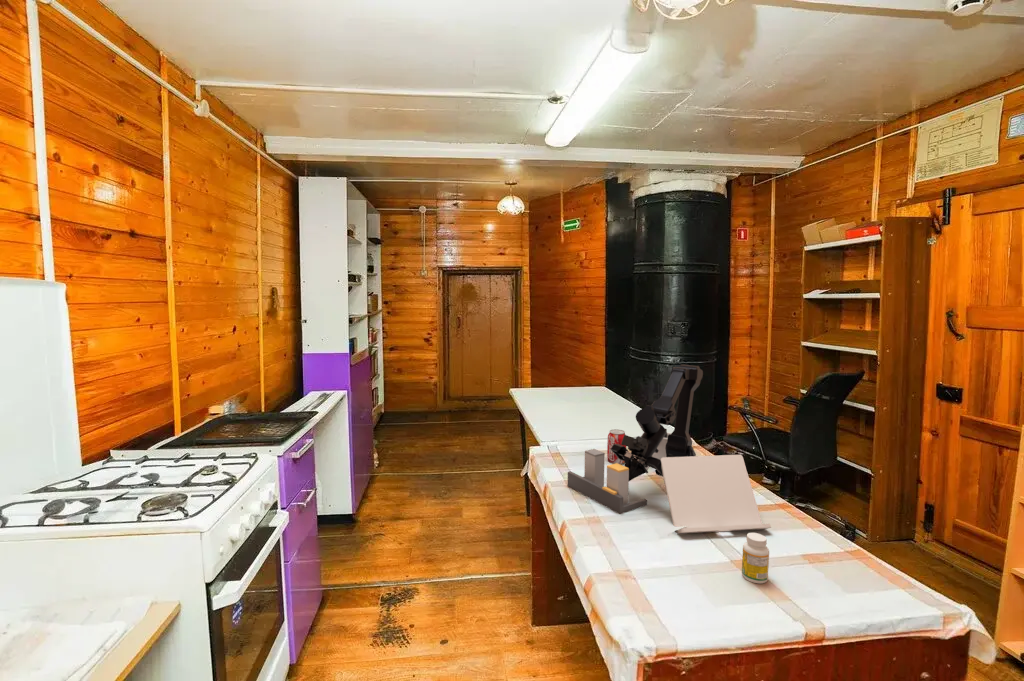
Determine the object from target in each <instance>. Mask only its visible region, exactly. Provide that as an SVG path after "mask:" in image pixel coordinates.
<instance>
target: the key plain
mask: <svg viewBox="0 0 1024 681" xmlns="http://www.w3.org/2000/svg"><path fill="white" fill-rule="evenodd" d="M605 455H606V454H605V452H603V451H601V450H598V449H595V448H591V449H587V450H584V476H583V477H584V478H585V479H587V480H589V481H592V482H594V483H596V484H598V485H600V486H602V487H605Z"/></svg>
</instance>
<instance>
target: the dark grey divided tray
mask: <svg viewBox="0 0 1024 681" xmlns="http://www.w3.org/2000/svg"><path fill="white" fill-rule="evenodd" d="M567 487H568V488H570V489H573V490H574V491H576V492H578V493H580V494H581V495H583V496H585V497H587V498H589V499H591V500H593V501H594V502H597V503H599V504H600V505H602V506H604V507H606V508H607V509H610V510H612V511H613V512H615V513H617V514H618V515H622V514H624V513H628V512H631V511H634V510H637V509H640V508H644V507H646V506H648V499H647V498H642V499H639V500H635V501H631V502H628V504H625V505H623V497H622V496H620V495H618V494H617V492H616V491H614V490H612V489H610V488H608V487H607V485H604V487H602V486H600V485H598V484H596V483H594V482H592V481H589V480H587V479H585V478H584V476H581V475H579V474H577V473H575V472H573V471H567Z"/></svg>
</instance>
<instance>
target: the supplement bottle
mask: <svg viewBox="0 0 1024 681" xmlns="http://www.w3.org/2000/svg"><path fill="white" fill-rule="evenodd" d="M767 544H768V543H767V537H766V536H765V535H764V534H761V533H759V532H758V533H757V532H748V533H747V535H746V542H744V543H743V545H742V559H741V560H742V561H741V575H742V577H743V578H744V579H745V580H747V581H748V582H750V583H753V584H760V585H761V584H765V583H767V582H768V579H769V564H770V550H769V548H768V546H767Z"/></svg>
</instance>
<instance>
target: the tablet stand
mask: <svg viewBox="0 0 1024 681" xmlns="http://www.w3.org/2000/svg"><path fill="white" fill-rule="evenodd" d="M660 460H661V468H662V473H663V477H662V478H663V482H664V487H665V491H666V496H667V500H668V505H669V506H668V507H669V511H670V516H671V521H672V525H673V526H674V527H681V528H679V529H676V530H674V532H675V534H677V535H681V534H683V535H684V534H699V533H700V534H703V533H712V532H713V533H717V532H718V533H719V532H735V531H736V532H737V531H754V530H755V531H756V530H767V529H771V528H772V525H771V523H763V522H762V518H761V515H760V511H759V508H758V504H757V501H756V498H755V494H754V491H753V490H754V489H753V487H752V484H751V480H750V477H749V474H748V471H747V467H746V463H745V460H744V457H743V455H742V454H722V455H698V456H697V455H696V456H690V457H663V458H661V459H660Z"/></svg>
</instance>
